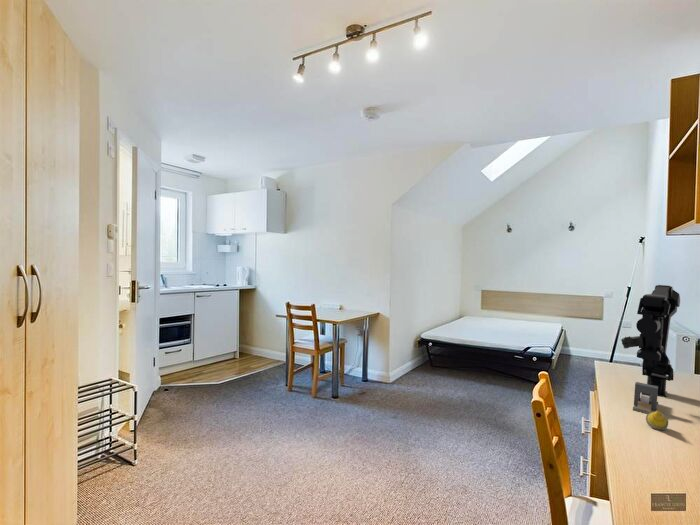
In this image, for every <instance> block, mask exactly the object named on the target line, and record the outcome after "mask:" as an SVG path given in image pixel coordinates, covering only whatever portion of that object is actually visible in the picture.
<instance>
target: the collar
mask: <svg viewBox="0 0 700 525" xmlns="http://www.w3.org/2000/svg"><path fill="white" fill-rule="evenodd" d="M641 393H644V394H649V395H652V397H651V402H649V404H652V406H651V409H652V410H656V408H657V409H658V407H657V402H658V396H659V395H658V386H654V385H649V384H647V383H644V382H638V381H635V384H634V396H633V406H634V405H636V406H638V401H640V402H641V399H640V398H641Z"/></svg>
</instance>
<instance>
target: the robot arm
mask: <svg viewBox="0 0 700 525" xmlns="http://www.w3.org/2000/svg"><path fill="white" fill-rule="evenodd" d="M638 303H639V304H638V309H637V312H636V314H637V315H642V316H641V318H639V319H638V320H637V322H636V329H637V331H638V332H639V333H640V334H639V335H636V336H625V337H623V338H621V340H620V341H621V344H622V346H623V349H629V348H635V347H636V348H637V347H638V350H637V352H636V358H638V359H641V360H642V364H641V365H642V369H641V370H642V371H641V372H642V376H646V377H647V379H646V384H649V385H654V386H658V396H661V397H665V398H666V397H667V395H668V391H667V390H666V389H667V381H668V382H671V381H674V375H675V374H674V368H673V366H672V364H671V360H670V359H669V357H668V355H667V347H668V341H669V332H670V326H671V318H672V317H673V316H674V315H676V313H677V312H678V308H680V305H681V295H680V293H679V292H677V291H675V289H674V288H673V286H671V285H666V284H665V285H664V284H657V285H655V286H654V290H652V291H651V293H648V294H647V293H645V294H644V295H642V297H640V299H639V302H638Z"/></svg>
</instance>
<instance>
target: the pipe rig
mask: <svg viewBox="0 0 700 525" xmlns="http://www.w3.org/2000/svg"><path fill="white" fill-rule="evenodd" d="M651 397H652V395H649V394H644V393H640V399H641V402H640V401H638V406H636V405H634V404H633V407H632V411H634V412H637V413H642V414H646V415H647V414H648V413H649V412H654V411H655V412H656V411H658V410H657V409H658V406H659V401H657V408H656V410H652V409H651V406H652V404H649V402H651Z"/></svg>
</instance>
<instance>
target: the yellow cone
mask: <svg viewBox="0 0 700 525" xmlns="http://www.w3.org/2000/svg"><path fill="white" fill-rule="evenodd" d="M645 421H646V423H647V425H648V426H649V427H650V428H651V429H653V430H656V431H663V430H665V429H667V428H668V427H669V420H668V418H667V416H666V415H665V414H664V413H662V412H660V410H657V411H656V412H655V411H654V412H649V413H648V414H646V416H645Z"/></svg>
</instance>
